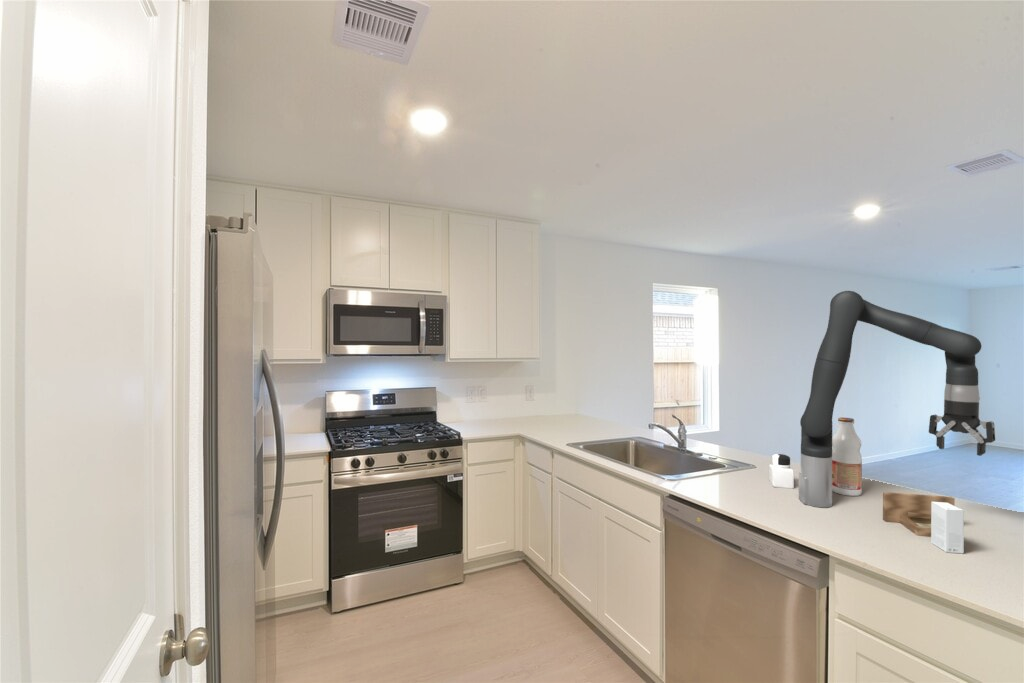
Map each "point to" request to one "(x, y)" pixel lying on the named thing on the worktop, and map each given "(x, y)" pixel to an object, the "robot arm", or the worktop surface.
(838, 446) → the fruit juice
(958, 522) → the skincare box
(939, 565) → the worktop surface
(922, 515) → the wooden frame stand
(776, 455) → the medicine bottle
